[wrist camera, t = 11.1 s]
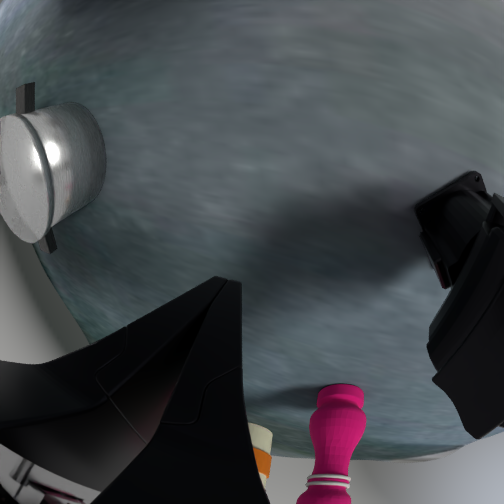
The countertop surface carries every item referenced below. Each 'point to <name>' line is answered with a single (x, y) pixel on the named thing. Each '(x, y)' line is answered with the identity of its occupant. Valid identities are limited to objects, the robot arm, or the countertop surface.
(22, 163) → the steel lid
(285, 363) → the countertop surface
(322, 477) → the pepper mill
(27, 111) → the steel pot
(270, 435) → the reusable coffee cup
